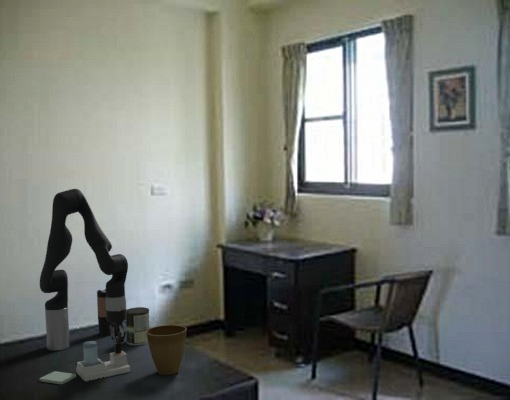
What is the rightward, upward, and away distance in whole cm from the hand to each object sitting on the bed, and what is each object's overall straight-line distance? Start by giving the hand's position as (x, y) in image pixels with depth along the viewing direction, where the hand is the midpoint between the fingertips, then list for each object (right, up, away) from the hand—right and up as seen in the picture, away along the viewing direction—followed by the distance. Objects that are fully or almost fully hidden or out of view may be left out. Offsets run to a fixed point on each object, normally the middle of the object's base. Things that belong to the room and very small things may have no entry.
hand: (118, 352), depth 234 cm
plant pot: (+19, -6, -4) cm, 21 cm away
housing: (-5, -7, -3) cm, 9 cm away
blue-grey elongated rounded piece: (-9, -5, -5) cm, 11 cm away
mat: (-20, -8, -8) cm, 23 cm away
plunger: (0, -4, 0) cm, 4 cm away
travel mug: (-16, -4, +49) cm, 52 cm away
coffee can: (+1, -4, +35) cm, 35 cm away
